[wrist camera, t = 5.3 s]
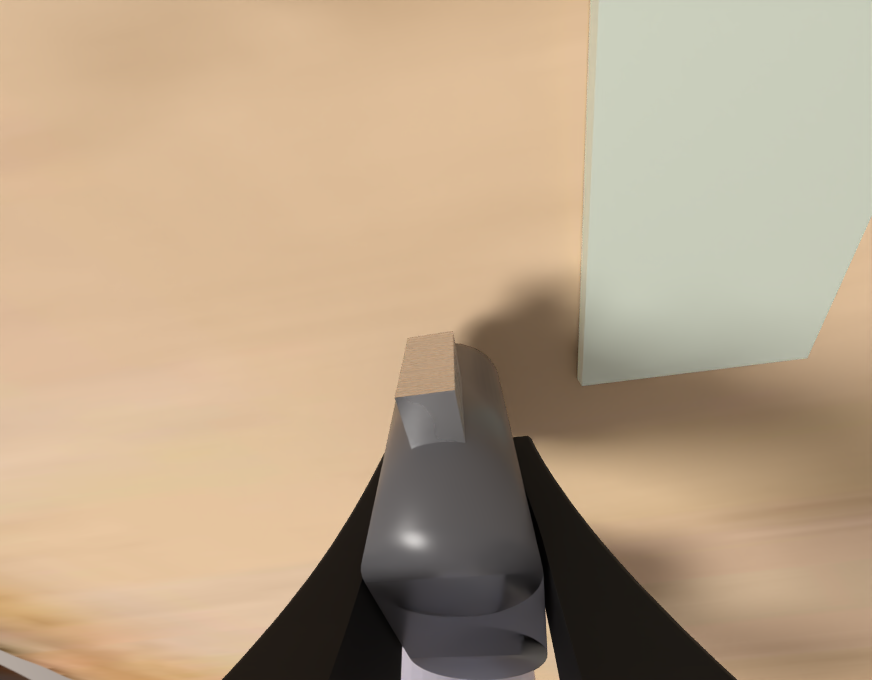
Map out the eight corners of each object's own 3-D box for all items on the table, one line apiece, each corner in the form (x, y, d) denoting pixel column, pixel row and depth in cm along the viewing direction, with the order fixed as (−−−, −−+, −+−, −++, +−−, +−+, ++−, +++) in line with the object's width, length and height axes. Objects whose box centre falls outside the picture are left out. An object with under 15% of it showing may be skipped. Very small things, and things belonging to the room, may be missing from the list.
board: (793, 350, 14) (807, 358, 13) (577, 377, 15) (581, 386, 14) (1020, -186, 7) (1065, -212, 7) (592, -65, 8) (602, -79, 8)
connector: (511, 484, 14) (548, 678, 9) (432, 491, 14) (423, 680, 9) (489, 297, 10) (537, 459, 5) (378, 315, 10) (305, 483, 5)
